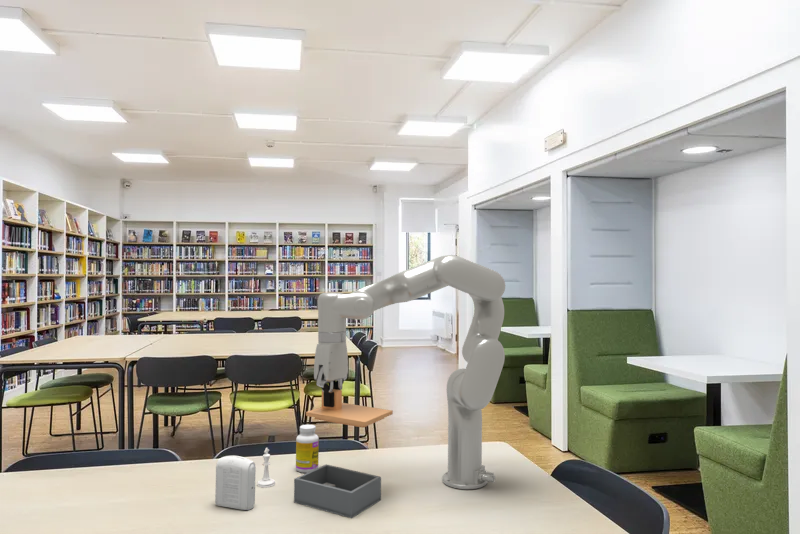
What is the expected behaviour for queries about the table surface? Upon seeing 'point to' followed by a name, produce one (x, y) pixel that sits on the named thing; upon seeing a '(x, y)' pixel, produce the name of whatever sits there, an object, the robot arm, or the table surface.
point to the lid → (348, 412)
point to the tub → (337, 490)
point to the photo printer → (235, 482)
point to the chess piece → (266, 472)
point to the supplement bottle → (307, 449)
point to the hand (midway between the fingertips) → (332, 404)
